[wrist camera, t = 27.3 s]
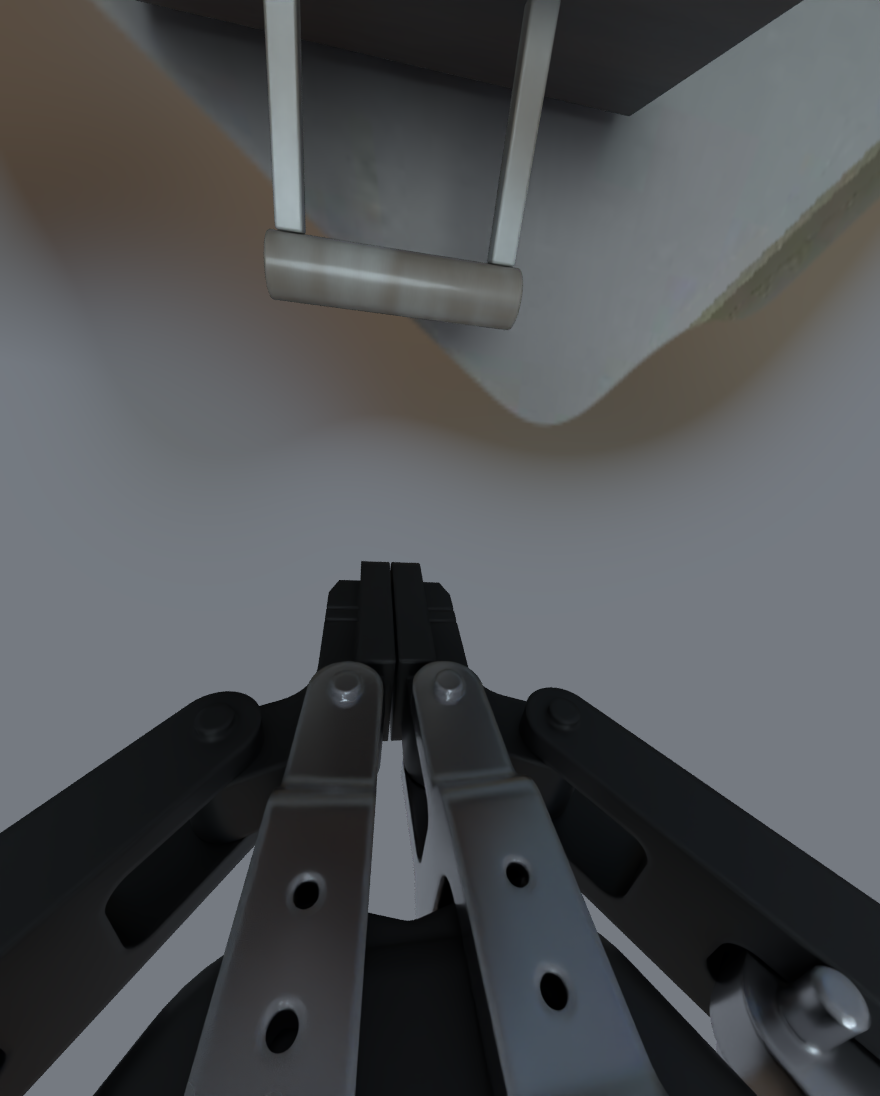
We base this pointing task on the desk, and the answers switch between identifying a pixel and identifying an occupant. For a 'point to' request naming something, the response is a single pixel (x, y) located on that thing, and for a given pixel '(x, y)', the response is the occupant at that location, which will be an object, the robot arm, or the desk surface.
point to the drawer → (484, 55)
